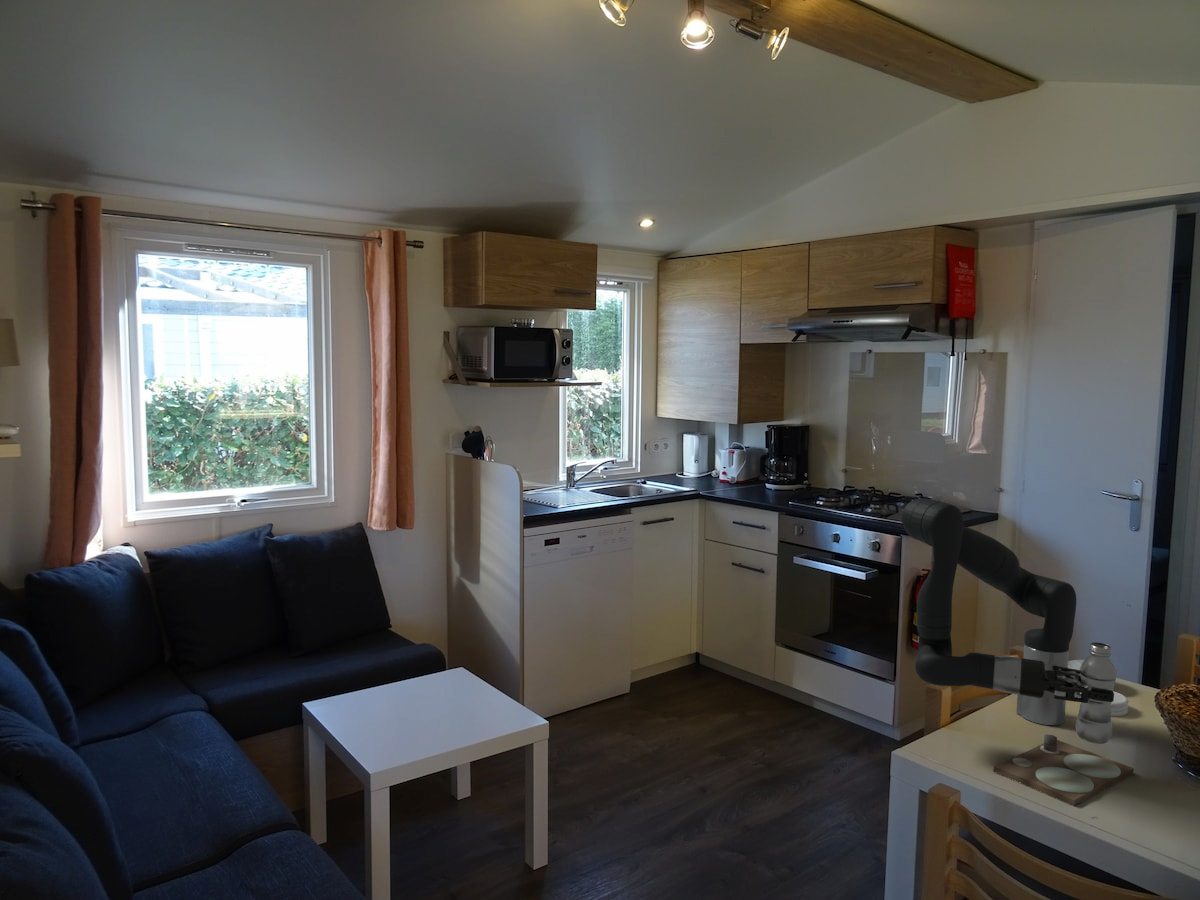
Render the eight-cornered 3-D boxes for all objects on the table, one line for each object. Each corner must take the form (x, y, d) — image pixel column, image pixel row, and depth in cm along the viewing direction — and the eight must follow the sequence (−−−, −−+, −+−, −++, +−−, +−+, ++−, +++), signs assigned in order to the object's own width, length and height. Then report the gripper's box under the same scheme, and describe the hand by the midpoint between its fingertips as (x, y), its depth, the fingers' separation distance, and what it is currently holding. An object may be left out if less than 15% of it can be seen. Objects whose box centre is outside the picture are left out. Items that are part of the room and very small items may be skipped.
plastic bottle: (1114, 739, 169) (1122, 644, 167) (1107, 751, 164) (1115, 653, 162) (1078, 730, 173) (1086, 637, 171) (1070, 741, 168) (1078, 645, 166)
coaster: (1102, 699, 207) (1103, 685, 207) (1137, 715, 198) (1138, 700, 197) (1069, 703, 205) (1070, 689, 205) (1103, 719, 195) (1104, 705, 195)
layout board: (993, 771, 169) (994, 751, 169) (1054, 744, 182) (1055, 725, 181) (1073, 806, 156) (1075, 784, 156) (1133, 773, 169) (1134, 753, 168)
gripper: (1019, 669, 167) (1117, 684, 159) (1019, 648, 180) (1109, 661, 172) (1017, 705, 168) (1114, 722, 160) (1016, 681, 180) (1106, 696, 173)
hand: (1111, 690), depth 166 cm, fingers closed on plastic bottle, 6 cm apart
